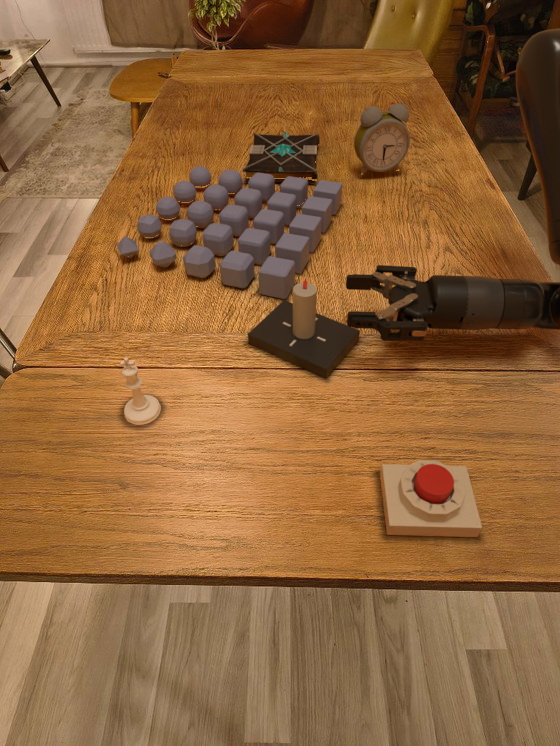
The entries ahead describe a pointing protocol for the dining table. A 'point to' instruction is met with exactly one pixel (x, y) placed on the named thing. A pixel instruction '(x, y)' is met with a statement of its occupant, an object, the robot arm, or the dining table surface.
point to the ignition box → (428, 504)
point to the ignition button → (433, 483)
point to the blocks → (243, 228)
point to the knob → (304, 310)
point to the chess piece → (138, 398)
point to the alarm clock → (382, 138)
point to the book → (283, 156)
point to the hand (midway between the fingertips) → (346, 299)
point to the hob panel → (304, 340)
